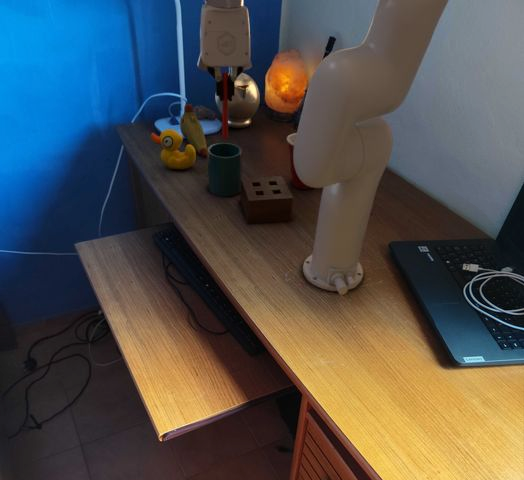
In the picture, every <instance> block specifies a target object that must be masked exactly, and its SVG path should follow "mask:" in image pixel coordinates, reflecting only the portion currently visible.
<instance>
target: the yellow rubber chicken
mask: <svg viewBox="0 0 524 480" xmlns="http://www.w3.org/2000/svg"><path fill="white" fill-rule="evenodd" d="M179 128H180V132H181V134H183V135H182V137H183V138H184V139H185V140H186V141H187V142H188V143H189V144H190V145H192V146H193V147H194V148H195V151H196V153H198V154H199V155H201V156H203V157H208V152H207V151H208V146H207V141H206V136H205V132H204V130H203V127H202V124H201V123H200V121H199V119H198V117H197V115H196V112H195V109H194V107H193V105H192V104H191V103H186V104H184V109H183V114H182V116H181V117H180V121H179Z"/></svg>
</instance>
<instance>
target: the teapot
mask: <svg viewBox="0 0 524 480" xmlns="http://www.w3.org/2000/svg"><path fill="white" fill-rule="evenodd" d="M228 75H229V73H228ZM258 87H259V86H258V85H257V83H256V81H255V80H254V79H253V78H252V77H251V76H250V75H249V74H246V73H244V72H242V73H241V74H240V75H239V76H238V77H237V78H236V81H235V95H234V96H232V101H229V100H228V128H232V129H245V128H247V127H249V126H250V125H251V123H252V117H253V116H254V115H255V114H256V112H257V111H258V108H259V105H260V100H261V99H260V98H261V97H260V95H261V94H260V89H259V88H258ZM214 93H215V95H214V96H215V97H214V98H215V104H216V108H217V109H218V111H219V113H220V114H221V115H222V101H220V99H219V96H216V92H214Z"/></svg>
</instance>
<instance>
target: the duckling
mask: <svg viewBox="0 0 524 480" xmlns="http://www.w3.org/2000/svg"><path fill="white" fill-rule="evenodd" d="M150 137H151V140H152V141H153V143H154V144H155V145H157V146H162V147H163V149H162V150H161V153H160V158H161V161H162V163H163V164H164V165H165V166H167V167H168V168H169V169H172V170H185V169H188V168H190V167H192V166H193V165H194V164H195V162H196V158H197V157H196V156H197V155H196V154H197V151H196V150H195V148H194V147H193V146H192V145H191V144H190V143H189V144H187V145H186V146H185V148H184V151H180V150H179V148H180V147H181V145H182V143H183V141H184V136H183V135H181V134H180V133H179V132H178V131H176V130H175V129H173V128H166V129H164V130H163V131H161V133H160V135H157V134H155V133H154V132H151V134H150Z"/></svg>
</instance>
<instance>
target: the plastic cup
mask: <svg viewBox="0 0 524 480" xmlns="http://www.w3.org/2000/svg"><path fill="white" fill-rule="evenodd" d="M296 134H297V132H295V133H291V134H289V135H288V136H287V137H286V142H287V144H288V151H289V158H290V159H289V161H290V162H289V163H290V172H291V181H292V186H293V187H294V188H296V189H300V190H309V189H312V188H313V187H309V186H307V185H305V184H304V183H303V182H302V181H301V180H300V179H299V177H298V175H297V173H296V170H295V167H294V160H293V151H294V143H295V138H296Z"/></svg>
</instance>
